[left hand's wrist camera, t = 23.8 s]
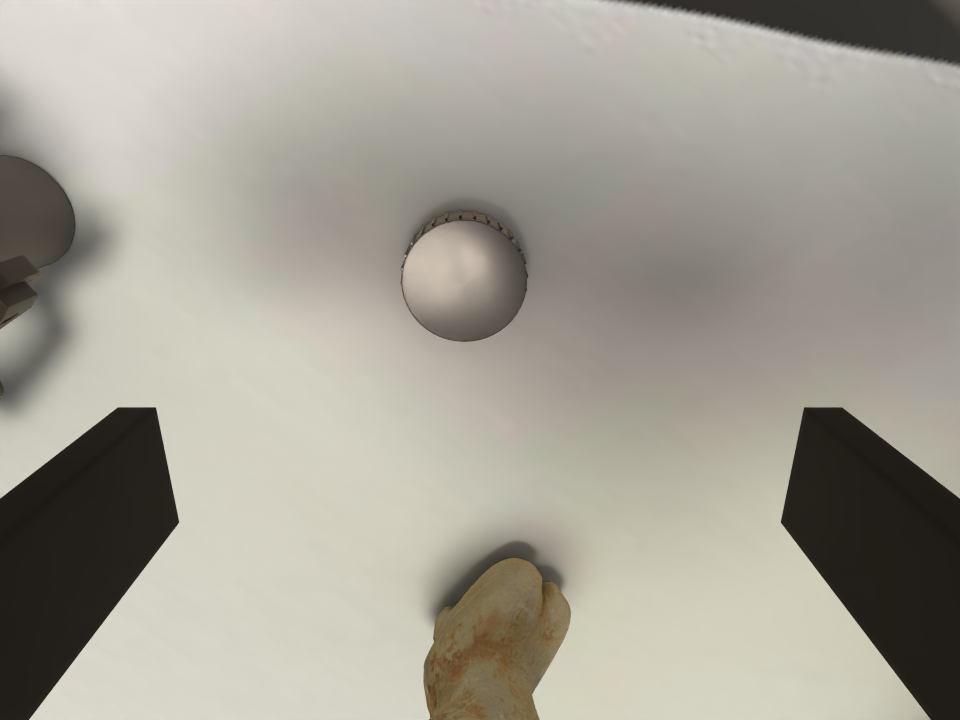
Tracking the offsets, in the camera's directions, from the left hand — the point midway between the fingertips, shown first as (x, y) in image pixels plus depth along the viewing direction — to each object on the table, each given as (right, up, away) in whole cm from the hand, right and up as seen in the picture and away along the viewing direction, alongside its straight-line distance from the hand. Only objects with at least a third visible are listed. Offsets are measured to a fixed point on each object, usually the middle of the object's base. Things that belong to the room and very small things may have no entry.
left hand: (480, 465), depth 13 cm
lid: (-1, +5, +11) cm, 12 cm away
